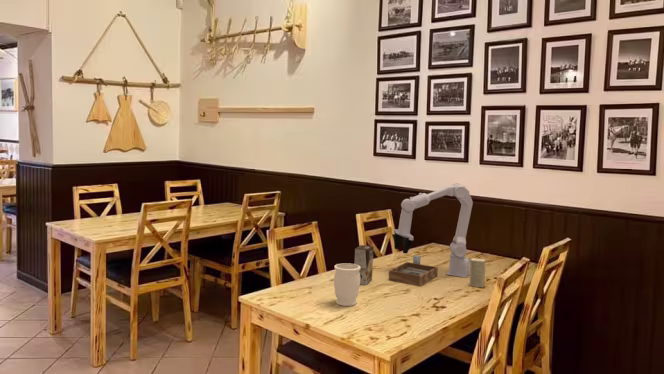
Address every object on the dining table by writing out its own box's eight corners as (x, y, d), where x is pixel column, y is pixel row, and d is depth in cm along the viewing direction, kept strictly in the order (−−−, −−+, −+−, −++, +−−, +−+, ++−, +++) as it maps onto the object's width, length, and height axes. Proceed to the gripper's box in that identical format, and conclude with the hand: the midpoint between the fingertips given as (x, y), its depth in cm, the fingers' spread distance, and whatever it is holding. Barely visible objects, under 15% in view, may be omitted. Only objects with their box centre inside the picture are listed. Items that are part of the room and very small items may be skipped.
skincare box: (484, 285, 243) (486, 259, 242) (482, 288, 239) (484, 261, 238) (470, 283, 246) (472, 257, 245) (468, 285, 242) (470, 259, 241)
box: (406, 270, 264) (407, 262, 264) (437, 276, 256) (437, 267, 255) (388, 280, 247) (389, 270, 247) (420, 286, 239) (421, 276, 238)
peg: (421, 269, 267) (421, 256, 267) (418, 271, 264) (418, 257, 263) (414, 268, 269) (415, 254, 268) (411, 270, 266) (412, 256, 265)
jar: (350, 309, 206) (352, 271, 204) (328, 303, 211) (329, 266, 210) (364, 302, 215) (365, 265, 213) (342, 297, 220) (343, 261, 219)
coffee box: (367, 285, 238) (368, 250, 236) (353, 283, 240) (354, 248, 238) (372, 280, 246) (373, 246, 245) (359, 278, 248) (360, 244, 247)
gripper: (390, 220, 263) (386, 247, 265) (406, 226, 250) (401, 255, 252) (402, 220, 266) (398, 247, 268) (418, 227, 253) (414, 255, 255)
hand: (400, 251), depth 260 cm, fingers open, 7 cm apart
